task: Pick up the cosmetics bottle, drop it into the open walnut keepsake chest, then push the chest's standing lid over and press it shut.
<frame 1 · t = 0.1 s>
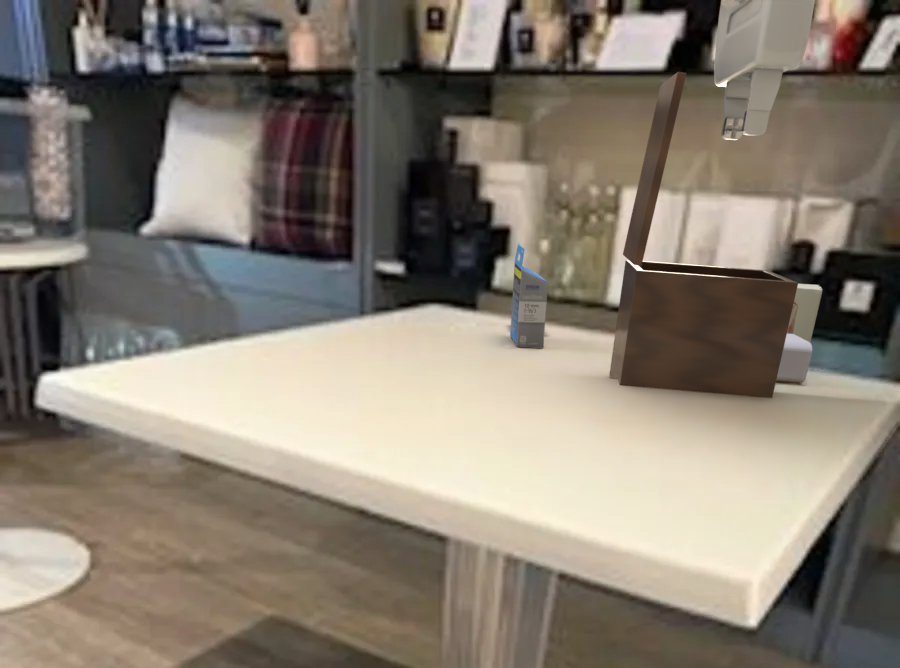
hand: (741, 137, 79), 25 cm above the table, tool pointing down, fingers open, 8 cm apart
cosmetics bottle: (785, 365, 117), on the table
chest: (684, 393, 96), on the table
lid: (651, 173, 87), point 21 cm above the table, hinge at 85.0°
label tape box: (524, 343, 120), on the table
charger: (732, 374, 109), on the table
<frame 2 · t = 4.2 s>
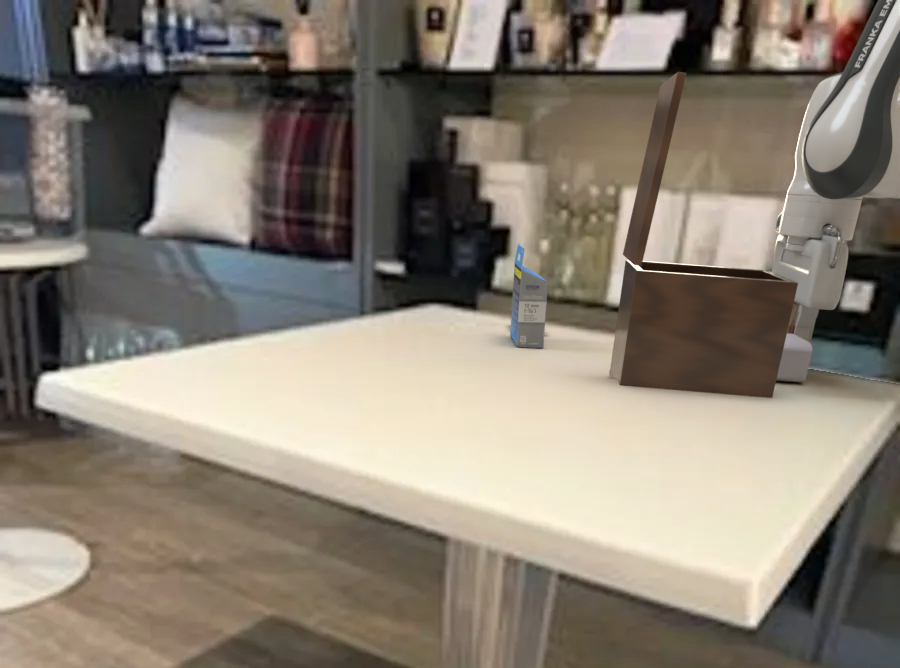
hand: (791, 336, 115), 4 cm above the table, tool pointing down, fingers closed on cosmetics bottle, 5 cm apart
cosmetics bottle: (785, 366, 117), on the table, touching gripper
everything else where it was.
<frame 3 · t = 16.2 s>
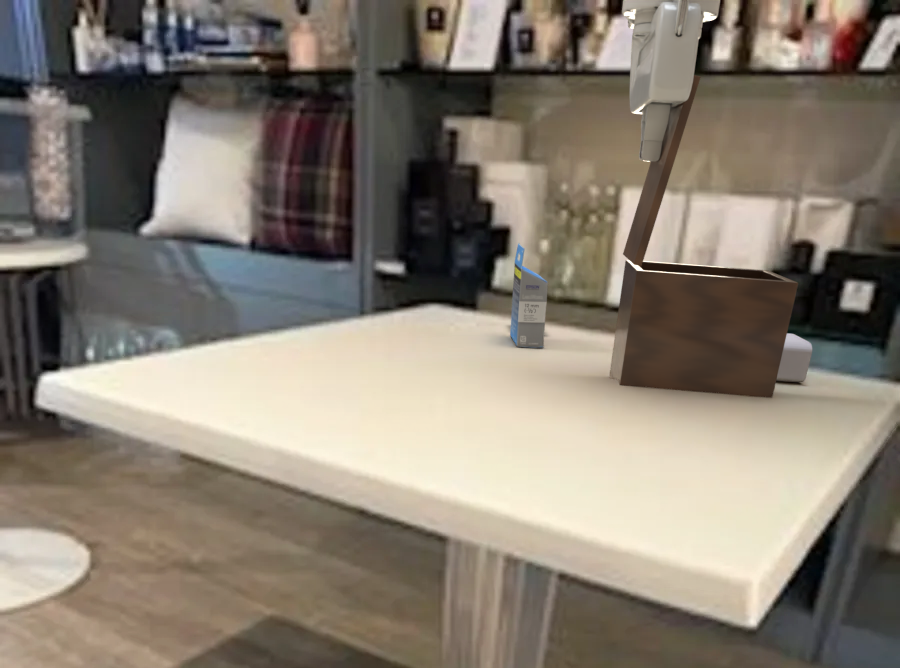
hand: (648, 161, 87), 22 cm above the table, tool pointing down, fingers closed, pressing on lid
cosmetics bottle: (685, 389, 96), point 1 cm above the table, touching chest
lid: (657, 174, 87), point 21 cm above the table, hinge at 80.3°, touching gripper
everything else where it was.
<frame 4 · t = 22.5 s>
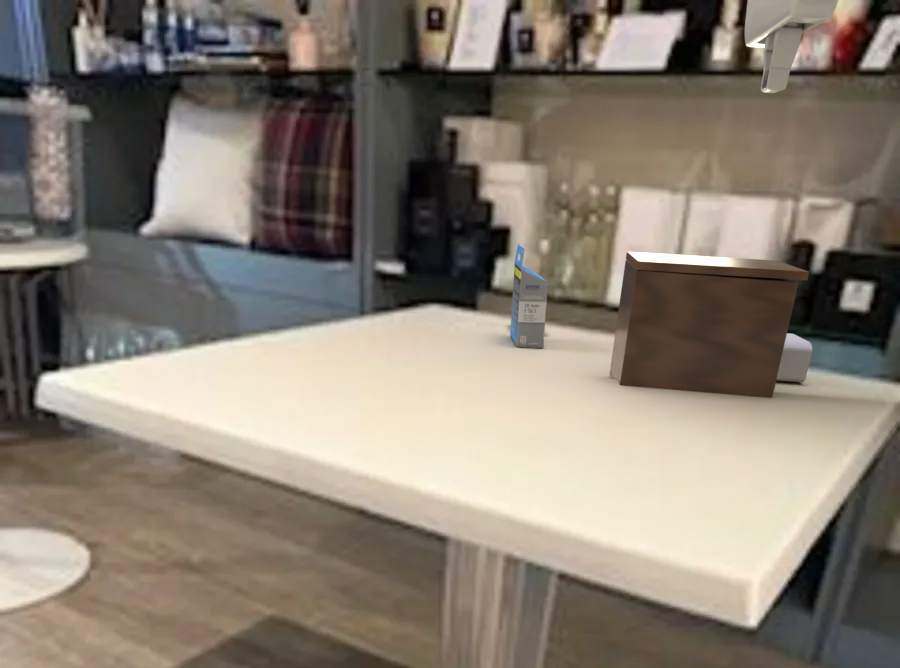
hand: (772, 91, 83), 29 cm above the table, tool pointing down, fingers closed
lid: (711, 264, 90), point 13 cm above the table, hinge at 0.8°
everything else where it was.
at the end: cosmetics bottle inside the target area in the chest (0.6 cm from its centre), point 0.6 cm above the chest's base; lid at +1° (first picture: +85°) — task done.
